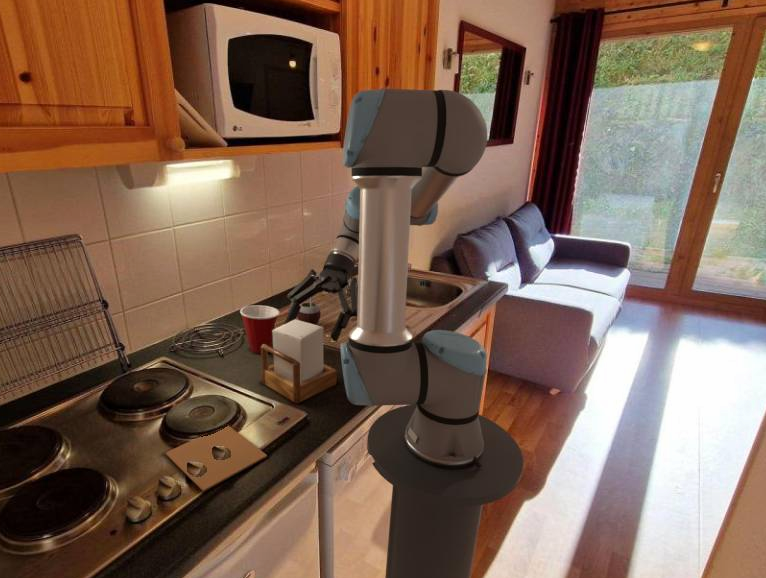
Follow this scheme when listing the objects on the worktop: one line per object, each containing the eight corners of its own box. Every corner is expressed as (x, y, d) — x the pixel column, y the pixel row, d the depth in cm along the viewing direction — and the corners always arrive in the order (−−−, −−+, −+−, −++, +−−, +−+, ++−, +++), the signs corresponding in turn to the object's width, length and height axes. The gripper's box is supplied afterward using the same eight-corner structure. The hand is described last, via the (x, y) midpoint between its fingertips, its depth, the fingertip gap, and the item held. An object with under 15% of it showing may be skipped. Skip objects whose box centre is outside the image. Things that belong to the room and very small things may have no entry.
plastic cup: (287, 352, 134) (286, 312, 130) (252, 361, 129) (250, 320, 124) (270, 338, 143) (268, 300, 138) (236, 346, 137) (233, 307, 133)
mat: (267, 456, 92) (267, 455, 92) (203, 492, 83) (203, 490, 83) (226, 425, 101) (226, 424, 101) (165, 454, 92) (165, 452, 92)
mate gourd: (305, 335, 145) (305, 288, 139) (292, 327, 151) (291, 281, 145) (325, 330, 149) (326, 284, 143) (311, 322, 155) (311, 277, 149)
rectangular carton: (324, 381, 119) (325, 326, 113) (302, 397, 112) (302, 339, 106) (296, 371, 124) (295, 317, 118) (273, 385, 117) (271, 329, 111)
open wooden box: (337, 384, 118) (337, 345, 114) (296, 404, 109) (295, 363, 105) (301, 366, 127) (300, 329, 123) (261, 383, 118) (259, 344, 114)
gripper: (390, 275, 120) (359, 350, 114) (307, 260, 133) (276, 327, 126) (382, 259, 114) (349, 338, 108) (296, 245, 126) (262, 315, 120)
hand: (309, 332), depth 117 cm, fingers open, 13 cm apart
